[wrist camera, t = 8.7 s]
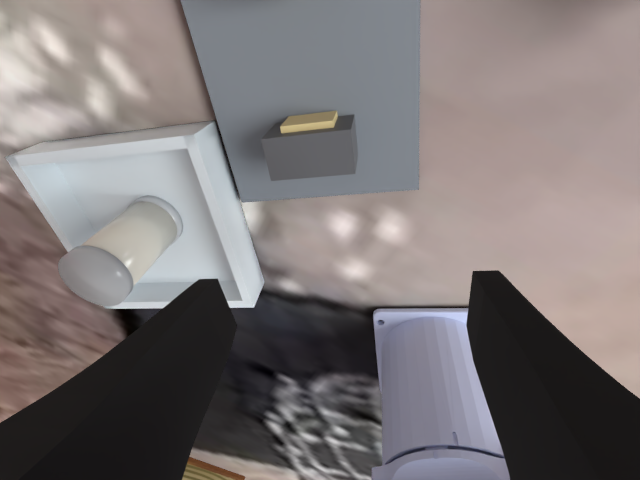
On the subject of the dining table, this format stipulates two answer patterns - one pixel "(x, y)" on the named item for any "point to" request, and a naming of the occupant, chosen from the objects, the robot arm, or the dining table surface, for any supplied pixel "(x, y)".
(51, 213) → the parts tray
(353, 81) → the fuse panel
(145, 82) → the dining table surface
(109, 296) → the fuse
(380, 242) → the dining table surface
